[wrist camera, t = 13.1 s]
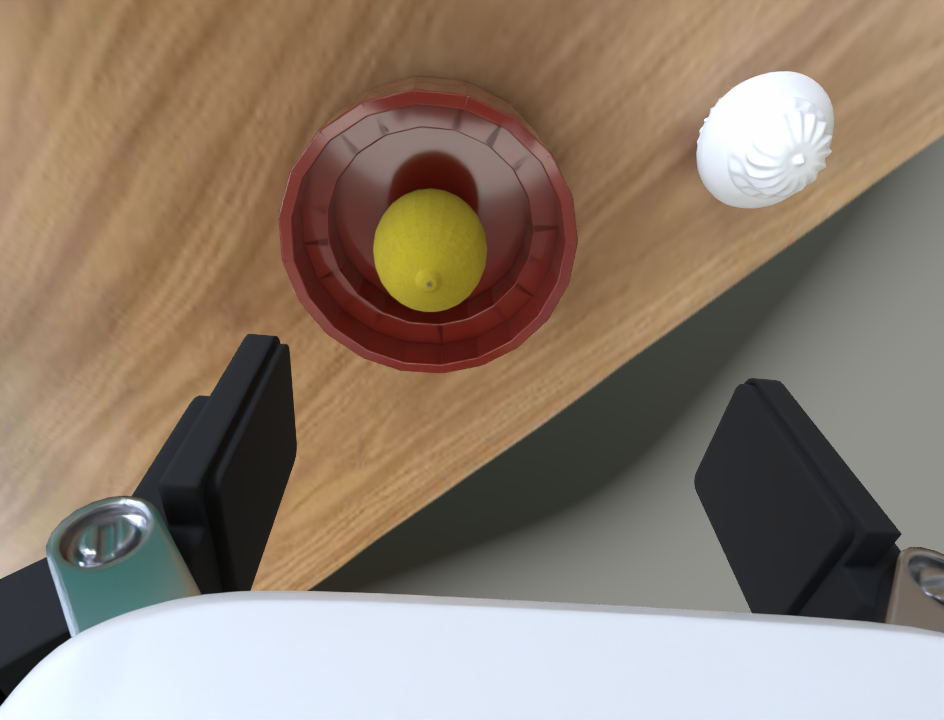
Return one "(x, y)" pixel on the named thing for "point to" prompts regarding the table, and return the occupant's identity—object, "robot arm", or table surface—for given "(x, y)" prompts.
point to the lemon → (430, 250)
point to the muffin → (765, 140)
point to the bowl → (423, 167)
